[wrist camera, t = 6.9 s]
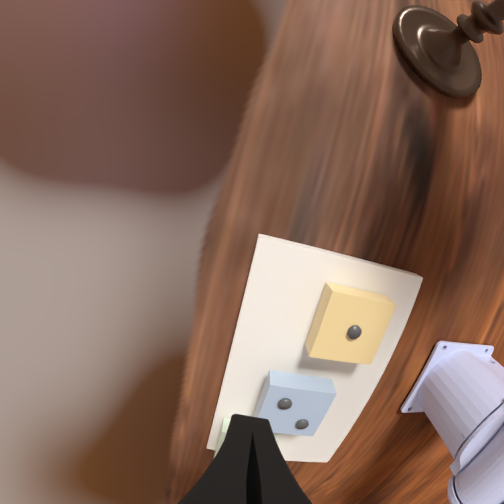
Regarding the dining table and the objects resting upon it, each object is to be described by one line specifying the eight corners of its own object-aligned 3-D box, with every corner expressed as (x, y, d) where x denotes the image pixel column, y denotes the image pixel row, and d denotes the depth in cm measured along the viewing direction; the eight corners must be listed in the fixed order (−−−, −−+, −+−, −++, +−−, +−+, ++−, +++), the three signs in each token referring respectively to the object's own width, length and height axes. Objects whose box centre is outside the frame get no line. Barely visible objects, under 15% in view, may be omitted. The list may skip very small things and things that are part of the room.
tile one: (385, 295, 17) (397, 305, 15) (363, 352, 18) (371, 366, 16) (325, 281, 17) (333, 292, 15) (305, 343, 18) (309, 358, 16)
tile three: (277, 426, 20) (278, 442, 18) (263, 455, 21) (263, 470, 19) (223, 417, 20) (221, 433, 18) (215, 447, 21) (212, 462, 19)
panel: (415, 273, 18) (430, 282, 16) (325, 453, 22) (329, 470, 20) (258, 233, 18) (258, 239, 16) (208, 439, 22) (204, 456, 20)
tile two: (331, 378, 18) (337, 395, 16) (310, 421, 19) (313, 438, 17) (269, 369, 18) (270, 386, 16) (253, 414, 19) (253, 431, 17)
